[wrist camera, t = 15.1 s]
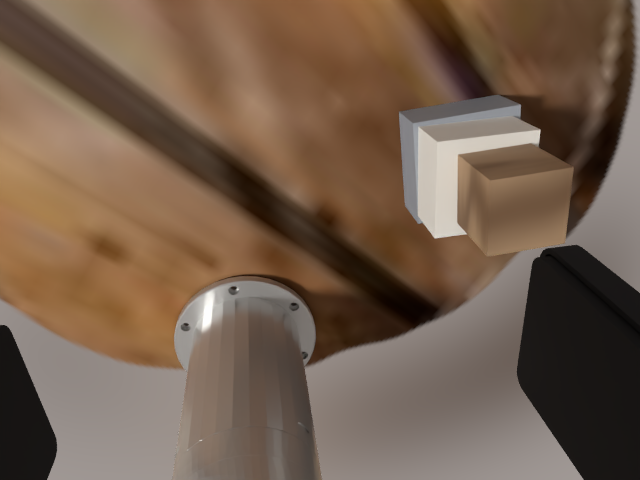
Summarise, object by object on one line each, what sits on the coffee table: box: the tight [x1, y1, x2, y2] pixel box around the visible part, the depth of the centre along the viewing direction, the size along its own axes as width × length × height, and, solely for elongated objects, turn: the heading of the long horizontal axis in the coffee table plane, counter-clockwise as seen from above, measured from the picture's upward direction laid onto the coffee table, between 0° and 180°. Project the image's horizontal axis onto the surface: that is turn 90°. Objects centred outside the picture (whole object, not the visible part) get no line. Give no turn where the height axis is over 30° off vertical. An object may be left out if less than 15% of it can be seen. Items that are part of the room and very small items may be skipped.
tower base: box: [399, 95, 521, 224], centre depth 40 cm, size 8×8×4 cm
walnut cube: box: [457, 143, 574, 257], centre depth 33 cm, size 5×5×5 cm
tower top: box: [418, 116, 541, 238], centre depth 37 cm, size 7×7×4 cm
